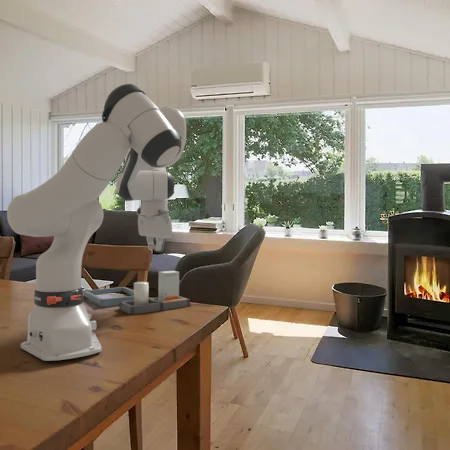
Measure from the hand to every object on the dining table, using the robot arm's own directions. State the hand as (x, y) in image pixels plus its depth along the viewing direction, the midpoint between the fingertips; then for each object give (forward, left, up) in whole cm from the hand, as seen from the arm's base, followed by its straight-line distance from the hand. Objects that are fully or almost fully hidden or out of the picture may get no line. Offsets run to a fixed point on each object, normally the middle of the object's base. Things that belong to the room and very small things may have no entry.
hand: (154, 250), depth 158 cm
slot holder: (-5, +2, -19) cm, 20 cm away
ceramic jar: (-5, +7, -19) cm, 21 cm away
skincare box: (-5, -3, -19) cm, 20 cm away
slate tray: (+14, +9, -19) cm, 26 cm away
